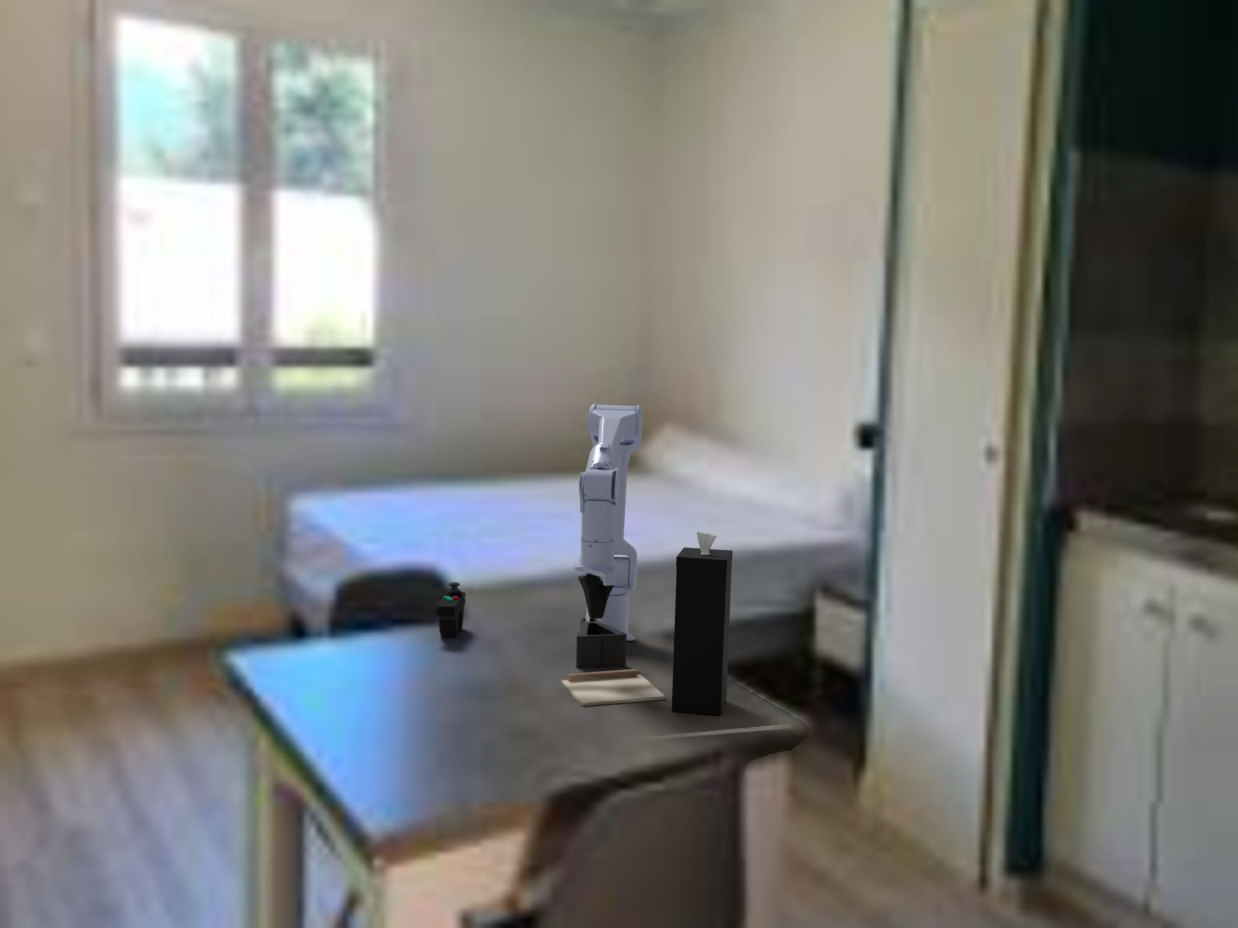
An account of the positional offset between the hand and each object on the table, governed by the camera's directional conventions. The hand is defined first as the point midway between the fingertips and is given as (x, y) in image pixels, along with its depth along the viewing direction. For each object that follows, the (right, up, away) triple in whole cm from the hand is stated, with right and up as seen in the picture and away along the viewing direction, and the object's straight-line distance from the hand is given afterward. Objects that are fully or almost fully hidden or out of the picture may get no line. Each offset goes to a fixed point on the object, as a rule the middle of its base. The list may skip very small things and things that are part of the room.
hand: (595, 617), depth 201 cm
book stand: (+3, -11, -8) cm, 14 cm away
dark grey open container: (+1, -7, +3) cm, 7 cm away
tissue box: (+17, -12, -15) cm, 25 cm away
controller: (-28, -7, +20) cm, 35 cm away
